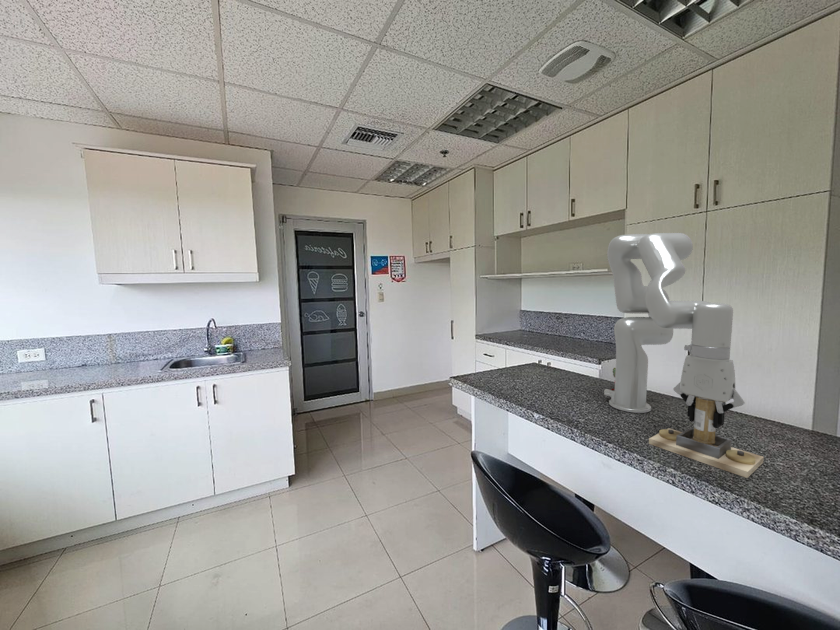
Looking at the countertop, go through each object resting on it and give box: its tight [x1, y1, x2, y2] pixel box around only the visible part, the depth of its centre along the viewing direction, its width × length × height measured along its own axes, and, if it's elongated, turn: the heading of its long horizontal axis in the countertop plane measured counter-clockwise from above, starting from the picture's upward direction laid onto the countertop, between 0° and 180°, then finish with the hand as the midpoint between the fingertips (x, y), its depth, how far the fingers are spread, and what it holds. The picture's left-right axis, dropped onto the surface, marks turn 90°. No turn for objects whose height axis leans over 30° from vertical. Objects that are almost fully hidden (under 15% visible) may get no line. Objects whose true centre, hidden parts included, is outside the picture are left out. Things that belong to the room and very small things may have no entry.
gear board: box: [648, 427, 765, 479], centre depth 89 cm, size 20×12×4 cm, turn 33°
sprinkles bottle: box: [693, 397, 717, 445], centre depth 88 cm, size 5×5×13 cm
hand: (704, 422), depth 88 cm, fingers closed on sprinkles bottle, 4 cm apart
